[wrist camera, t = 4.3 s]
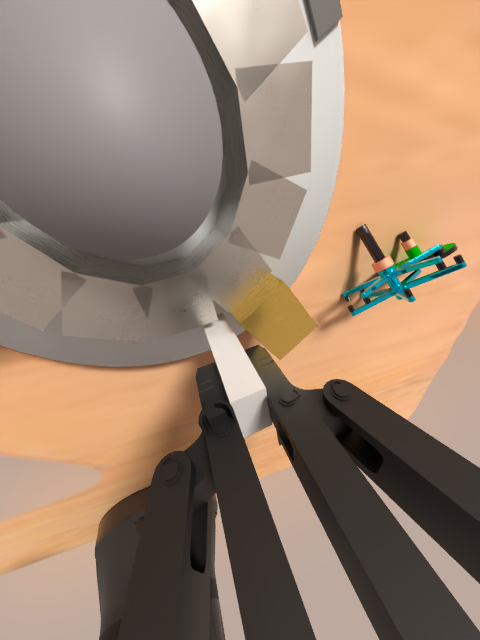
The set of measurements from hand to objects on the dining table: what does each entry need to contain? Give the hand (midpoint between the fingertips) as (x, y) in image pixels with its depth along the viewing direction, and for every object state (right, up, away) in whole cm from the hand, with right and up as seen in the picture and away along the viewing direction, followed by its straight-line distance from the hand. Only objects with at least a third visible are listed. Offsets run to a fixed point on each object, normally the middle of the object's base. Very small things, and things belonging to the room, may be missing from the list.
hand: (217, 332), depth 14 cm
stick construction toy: (+15, +7, +6) cm, 17 cm away
